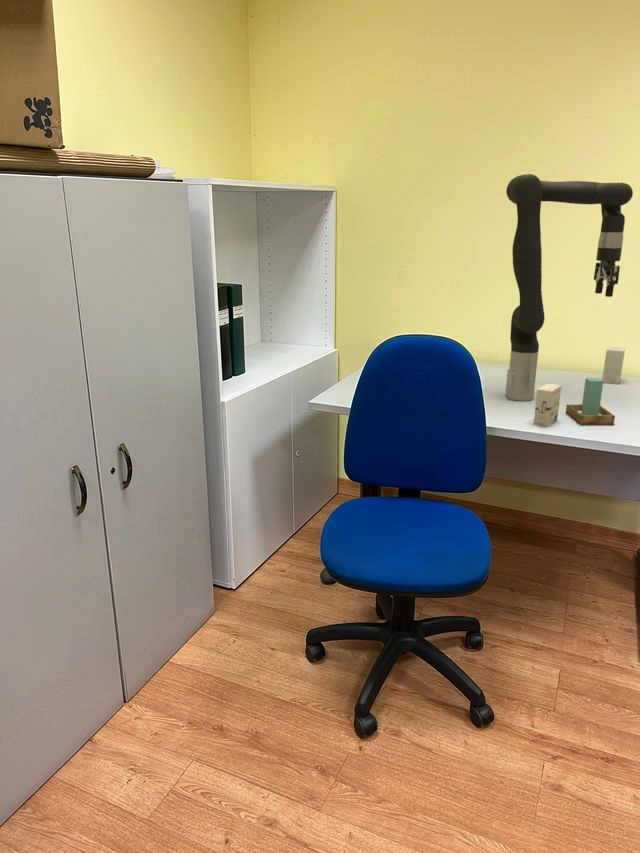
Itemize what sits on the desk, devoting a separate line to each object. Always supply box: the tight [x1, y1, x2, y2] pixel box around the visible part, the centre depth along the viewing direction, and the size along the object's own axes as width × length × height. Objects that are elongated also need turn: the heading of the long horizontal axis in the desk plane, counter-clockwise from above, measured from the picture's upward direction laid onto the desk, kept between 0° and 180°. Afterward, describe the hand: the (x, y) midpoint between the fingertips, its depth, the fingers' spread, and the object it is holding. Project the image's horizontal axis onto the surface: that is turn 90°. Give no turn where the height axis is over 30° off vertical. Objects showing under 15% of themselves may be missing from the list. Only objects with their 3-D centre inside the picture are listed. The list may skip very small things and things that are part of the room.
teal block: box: [581, 377, 604, 415], centre depth 205 cm, size 4×4×12 cm
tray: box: [565, 403, 616, 426], centre depth 207 cm, size 11×13×3 cm
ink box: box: [533, 383, 562, 427], centre depth 203 cm, size 9×5×12 cm, turn 141°
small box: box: [601, 345, 625, 385], centre depth 250 cm, size 8×6×13 cm
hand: (603, 295), depth 221 cm, fingers open, 8 cm apart
